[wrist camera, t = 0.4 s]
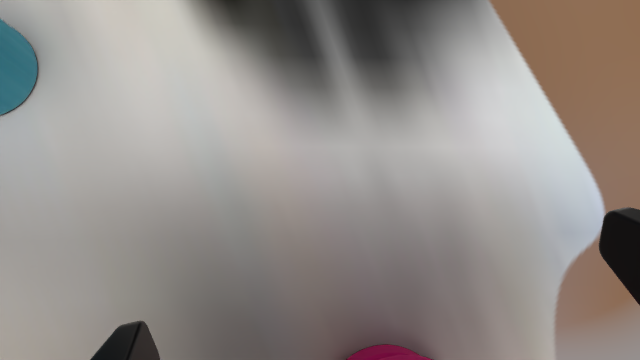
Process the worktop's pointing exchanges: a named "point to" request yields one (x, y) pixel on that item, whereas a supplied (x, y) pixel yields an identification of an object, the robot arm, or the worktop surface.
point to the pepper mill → (386, 353)
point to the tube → (15, 68)
